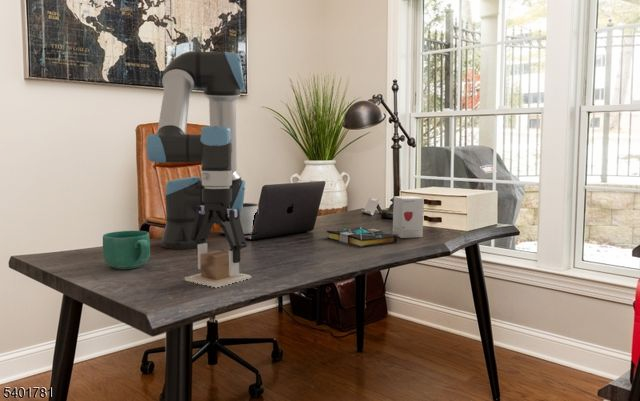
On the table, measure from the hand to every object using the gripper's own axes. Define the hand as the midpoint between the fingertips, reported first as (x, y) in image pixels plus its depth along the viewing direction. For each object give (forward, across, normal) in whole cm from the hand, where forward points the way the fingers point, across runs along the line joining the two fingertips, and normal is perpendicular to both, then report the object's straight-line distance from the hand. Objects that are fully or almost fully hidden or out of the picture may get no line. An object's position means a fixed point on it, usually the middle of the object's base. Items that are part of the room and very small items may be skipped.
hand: (218, 271), depth 139 cm
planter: (+2, -47, +54) cm, 72 cm away
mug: (+2, -29, -7) cm, 30 cm away
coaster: (+2, 0, 0) cm, 2 cm away
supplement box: (+2, +7, +89) cm, 90 cm away
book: (+3, -2, +70) cm, 70 cm away
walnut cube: (+1, 0, 0) cm, 1 cm away
